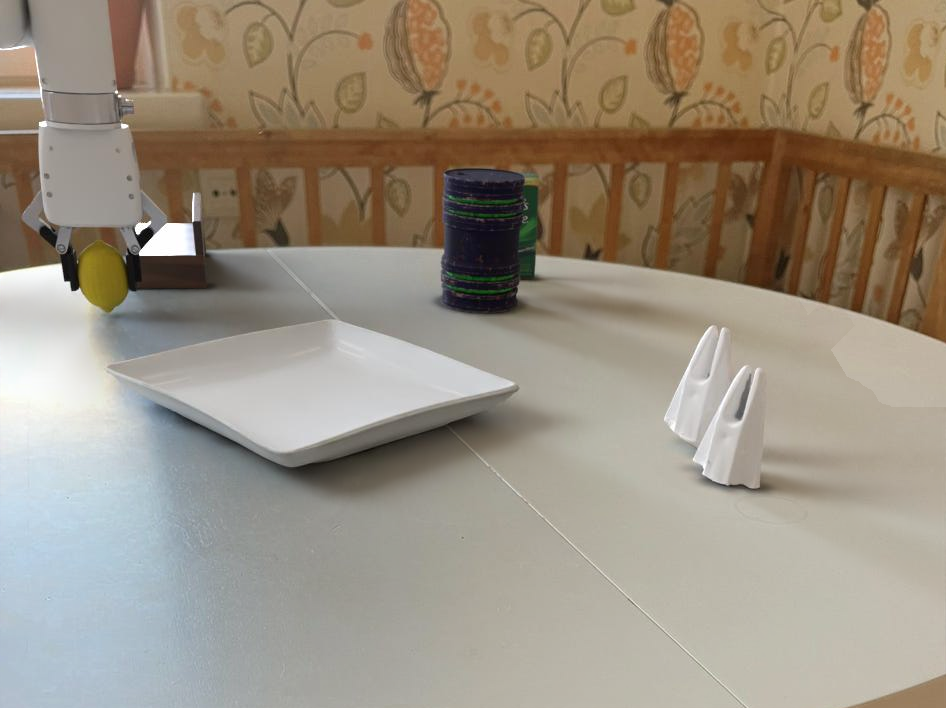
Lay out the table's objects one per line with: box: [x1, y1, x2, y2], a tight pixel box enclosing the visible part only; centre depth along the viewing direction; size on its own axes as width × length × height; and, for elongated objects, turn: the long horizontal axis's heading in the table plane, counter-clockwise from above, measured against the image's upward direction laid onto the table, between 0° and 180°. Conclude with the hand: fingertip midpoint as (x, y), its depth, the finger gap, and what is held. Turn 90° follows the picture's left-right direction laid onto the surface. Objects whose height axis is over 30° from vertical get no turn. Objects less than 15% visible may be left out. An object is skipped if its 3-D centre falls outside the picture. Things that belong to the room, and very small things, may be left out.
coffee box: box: [518, 173, 540, 280], centre depth 141 cm, size 8×3×13 cm, turn 95°
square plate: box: [102, 318, 520, 468], centre depth 95 cm, size 27×27×4 cm
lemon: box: [77, 239, 130, 314], centre depth 118 cm, size 6×6×8 cm
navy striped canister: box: [440, 167, 525, 314], centre depth 128 cm, size 10×10×15 cm
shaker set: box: [663, 324, 767, 490], centre depth 87 cm, size 12×4×11 cm, turn 14°
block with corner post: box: [135, 192, 208, 290], centre depth 138 cm, size 20×9×8 cm, turn 13°
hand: (104, 286), depth 118 cm, fingers closed on lemon, 5 cm apart
